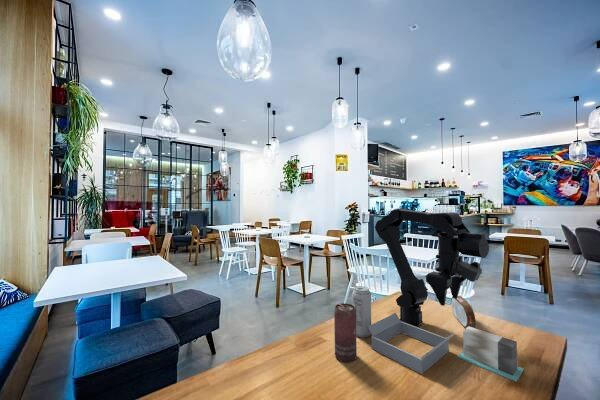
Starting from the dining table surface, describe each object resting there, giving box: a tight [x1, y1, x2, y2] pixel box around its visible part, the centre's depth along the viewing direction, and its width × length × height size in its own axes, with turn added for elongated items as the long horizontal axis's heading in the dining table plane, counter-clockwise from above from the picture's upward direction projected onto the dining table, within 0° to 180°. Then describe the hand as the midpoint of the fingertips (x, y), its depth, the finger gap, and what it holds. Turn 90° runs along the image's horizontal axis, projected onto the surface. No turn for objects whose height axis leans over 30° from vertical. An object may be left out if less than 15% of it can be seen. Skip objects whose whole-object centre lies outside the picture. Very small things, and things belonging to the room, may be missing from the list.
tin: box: [451, 295, 477, 329], centre depth 95 cm, size 15×3×8 cm, turn 168°
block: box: [462, 326, 518, 375], centre depth 71 cm, size 11×4×7 cm, turn 39°
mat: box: [457, 351, 525, 382], centre depth 71 cm, size 13×7×1 cm, turn 39°
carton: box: [368, 312, 455, 375], centre depth 78 cm, size 19×16×6 cm
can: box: [333, 303, 358, 363], centre depth 75 cm, size 6×6×14 cm
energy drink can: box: [351, 285, 372, 338], centre depth 88 cm, size 6×6×15 cm
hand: (449, 301), depth 84 cm, fingers open, 9 cm apart
